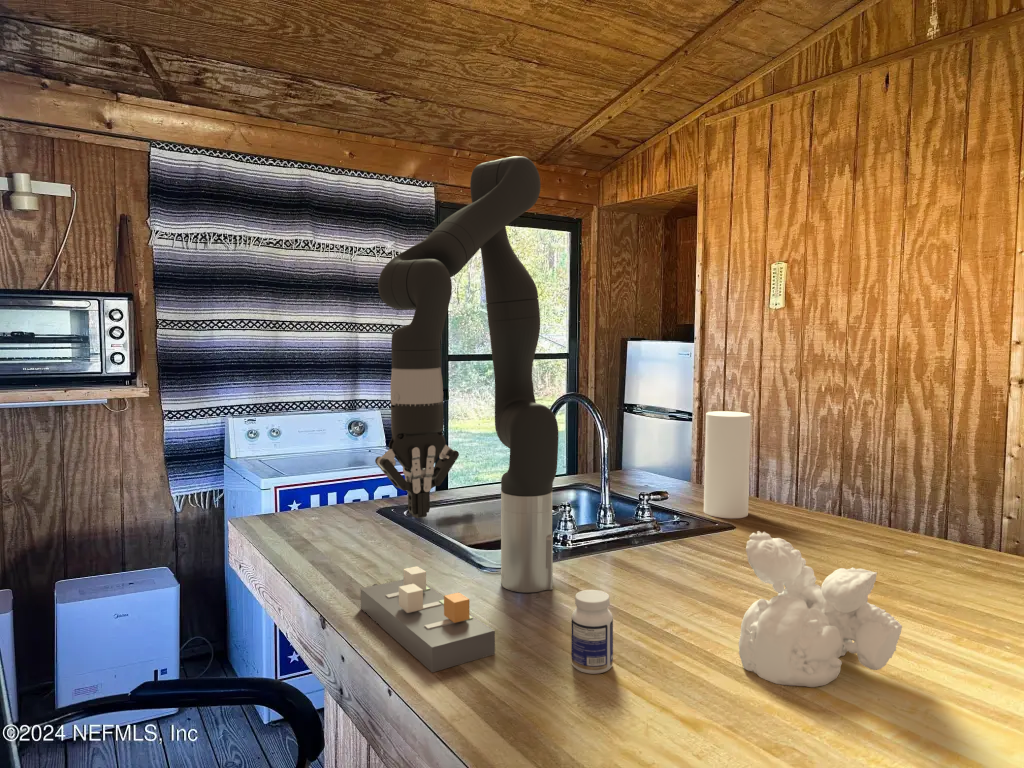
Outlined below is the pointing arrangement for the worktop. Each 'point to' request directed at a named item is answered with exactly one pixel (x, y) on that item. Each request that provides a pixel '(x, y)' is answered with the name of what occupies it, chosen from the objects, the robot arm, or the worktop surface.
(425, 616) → the slider control box
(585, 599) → the pill bottle
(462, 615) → the switch
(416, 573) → the switch
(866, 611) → the white plaster sculpture
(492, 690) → the worktop surface
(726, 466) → the tall pillar cylinder
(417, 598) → the switch
